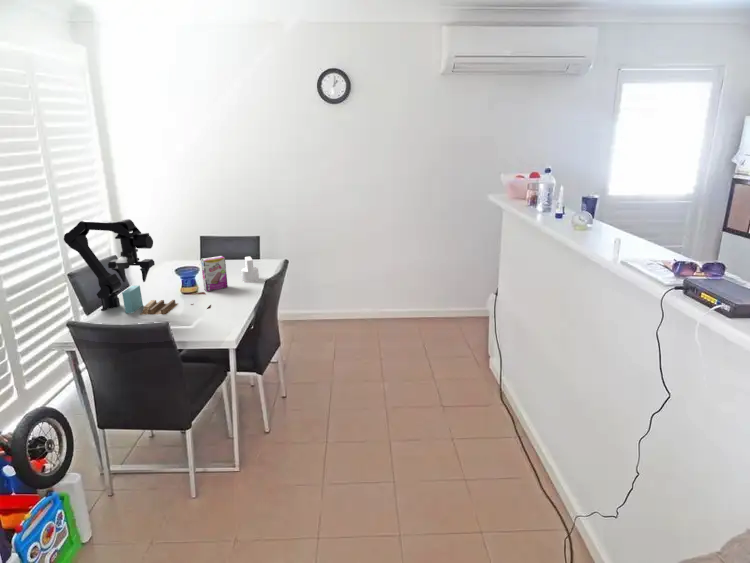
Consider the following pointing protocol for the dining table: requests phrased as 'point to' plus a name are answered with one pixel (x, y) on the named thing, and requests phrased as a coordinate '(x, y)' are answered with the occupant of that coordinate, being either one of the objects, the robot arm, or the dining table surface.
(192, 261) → the dining table surface
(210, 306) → the wooden tablet
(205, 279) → the candy bar box
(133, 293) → the teal panel
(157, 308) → the walnut rack
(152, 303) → the oak offcut slats
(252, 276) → the base with upright slab
